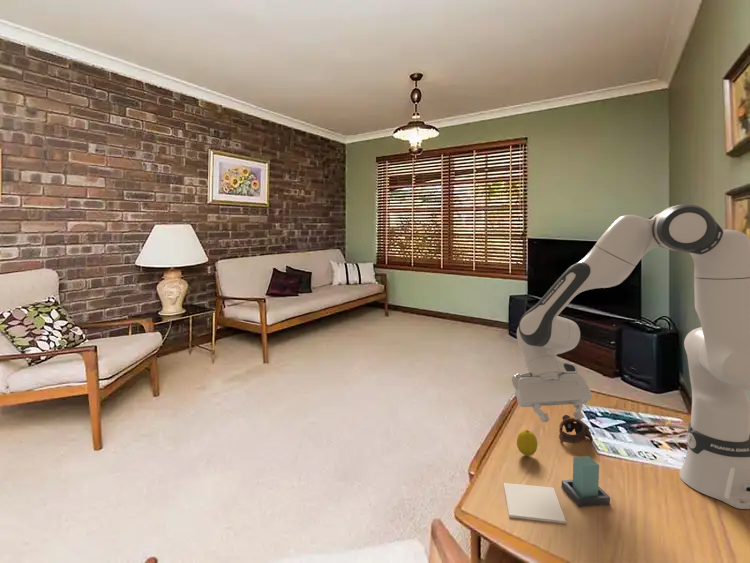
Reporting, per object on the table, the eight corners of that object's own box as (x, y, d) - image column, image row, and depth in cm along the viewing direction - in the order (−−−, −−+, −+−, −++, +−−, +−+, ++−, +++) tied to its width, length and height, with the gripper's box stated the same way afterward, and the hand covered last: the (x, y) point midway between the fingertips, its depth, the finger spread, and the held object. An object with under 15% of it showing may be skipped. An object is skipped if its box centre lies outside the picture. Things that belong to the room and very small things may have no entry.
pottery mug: (602, 448, 119) (595, 430, 116) (573, 462, 120) (566, 444, 117) (578, 420, 130) (571, 403, 127) (551, 433, 131) (544, 416, 128)
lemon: (538, 462, 112) (539, 435, 111) (518, 460, 113) (518, 433, 112) (535, 451, 118) (535, 426, 117) (515, 450, 119) (515, 424, 118)
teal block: (587, 489, 100) (588, 455, 99) (597, 500, 96) (599, 465, 95) (572, 491, 99) (573, 457, 98) (582, 501, 95) (583, 466, 94)
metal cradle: (589, 484, 102) (590, 478, 101) (609, 504, 94) (610, 497, 94) (561, 487, 101) (561, 480, 101) (579, 507, 93) (579, 500, 93)
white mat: (553, 489, 100) (553, 487, 100) (565, 523, 88) (565, 521, 88) (503, 484, 102) (503, 482, 102) (509, 517, 91) (509, 514, 91)
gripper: (513, 369, 112) (529, 418, 103) (582, 365, 113) (604, 413, 105) (506, 379, 117) (521, 426, 108) (573, 375, 118) (592, 421, 110)
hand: (562, 420), depth 106 cm, fingers open, 8 cm apart
